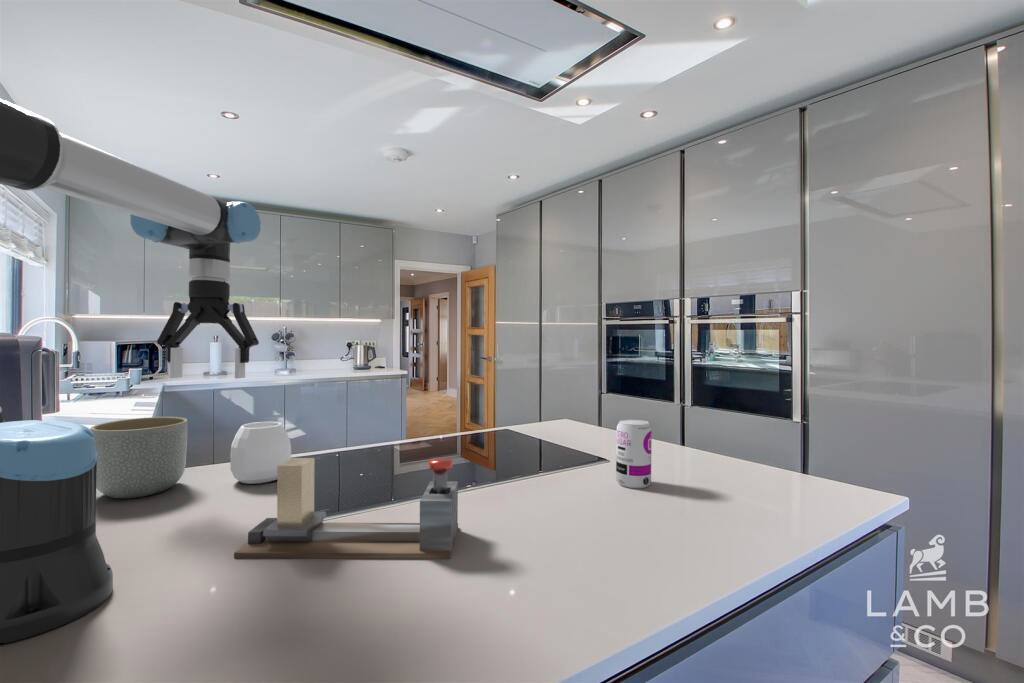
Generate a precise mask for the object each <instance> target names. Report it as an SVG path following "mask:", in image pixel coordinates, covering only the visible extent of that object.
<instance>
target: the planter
mask: <svg viewBox="0 0 1024 683" xmlns="http://www.w3.org/2000/svg"><path fill="white" fill-rule="evenodd" d="M188 424H189V423H188V419H187V418H186V417H185V418H184V417H179V416H178V417H177V416H152V417H151V416H150V417H139V418H138V417H137V418H128V419H121V420H120V419H119V420H112V421H107V422H102V423H97V424H95V425H92V426H91V427H90V428H89V429H90V430H91V431H92V432H93V434H94V436H95V444H96V451H97V453H98V459H97V481H96V490H97V491H99V492H100V493H102V495H104V496H107V497H110V498H113V499H135V498H142V497H147V496H152V495H156V494H159V493H162V492H165V491H167V490H169V489H170V488H172V487H173V486H175V485H176V484H177V483H178V482H179V481H180V480H181V479H182V477H183V475H184V474H185V469H186V465H187V464H186V463H187V448H188V446H187V445H188Z"/></svg>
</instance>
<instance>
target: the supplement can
mask: <svg viewBox="0 0 1024 683" xmlns="http://www.w3.org/2000/svg"><path fill="white" fill-rule="evenodd" d="M652 430H653V429H652V427H651V426H650V423H649V421H647V420H642V419H631V418H630V419H629V418H628V419H620V420H618V423H617V425H616V437H615V438H616V439H615V440H616V441H615V442H616V445H615V447H616V450H615V451H616V452H615V454H616V455H615V456H616V458H615V459H616V460H615V463H616V465H615V466H616V467H615V481H616V482H617V483H618V485H620V486H622V487H624V488H628V489H639V490H640V489H645V488H648V487H649V485H651V483H652V434H653V433H652Z"/></svg>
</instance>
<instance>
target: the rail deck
mask: <svg viewBox="0 0 1024 683" xmlns="http://www.w3.org/2000/svg"><path fill="white" fill-rule="evenodd" d="M458 487H459V482H458V481H447V494H433V480H432V481H429V483H428V484H427V487H426V489H425V490H424V493H423V495H422V496H421V498H420V500H419V522H323V524H319V525H317V526H316V527H315V528H314V529H313V530H312V540H311V541H310V542H276V541H268V536H263V530H264V529H265V528H266V527H268V526H269V525H270V524H271V523H273V522H274V521H275V520H277V517H267V518H265V519H263V520H262V521H261V522H259V523H258V524H257V525H256V526H254V527H253V528H252V529H250V530H249V531H247V542H246V543H244V544H243V545H242V546H241V547H240V548H238V549H237V550H235V552H234V553H233V556H234V557H233V558H234V559H235V558H236V559H418V560H419V559H423V560H424V559H433V560H434V559H438V560H439V559H442V560H443V559H444V560H445V559H451V557H452V556H451V555H452V552H453V548H454V545H455V542H456V537H457V532H458V529H459V523H458V518H459V516H458V513H459V512H458V509H459V507H458V506H459V504H458V503H459V500H458V498H459V488H458Z"/></svg>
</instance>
